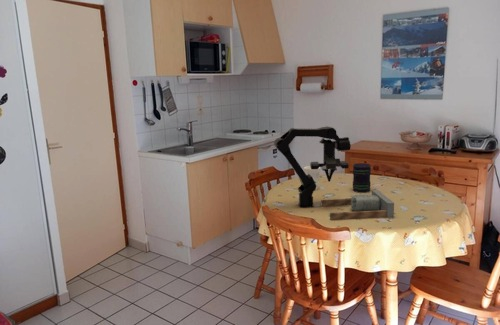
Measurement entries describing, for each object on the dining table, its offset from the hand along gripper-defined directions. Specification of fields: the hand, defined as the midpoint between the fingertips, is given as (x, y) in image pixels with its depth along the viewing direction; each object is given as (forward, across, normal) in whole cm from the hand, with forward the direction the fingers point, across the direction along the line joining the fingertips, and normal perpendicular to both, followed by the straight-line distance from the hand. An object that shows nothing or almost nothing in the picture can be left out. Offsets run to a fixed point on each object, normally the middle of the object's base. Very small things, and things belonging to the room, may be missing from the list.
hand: (329, 181), depth 198 cm
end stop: (+12, +24, -11) cm, 29 cm away
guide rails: (+12, +10, -12) cm, 20 cm away
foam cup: (+12, -6, +28) cm, 31 cm away
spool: (+12, +16, -12) cm, 23 cm away
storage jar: (+12, +22, +22) cm, 34 cm away
